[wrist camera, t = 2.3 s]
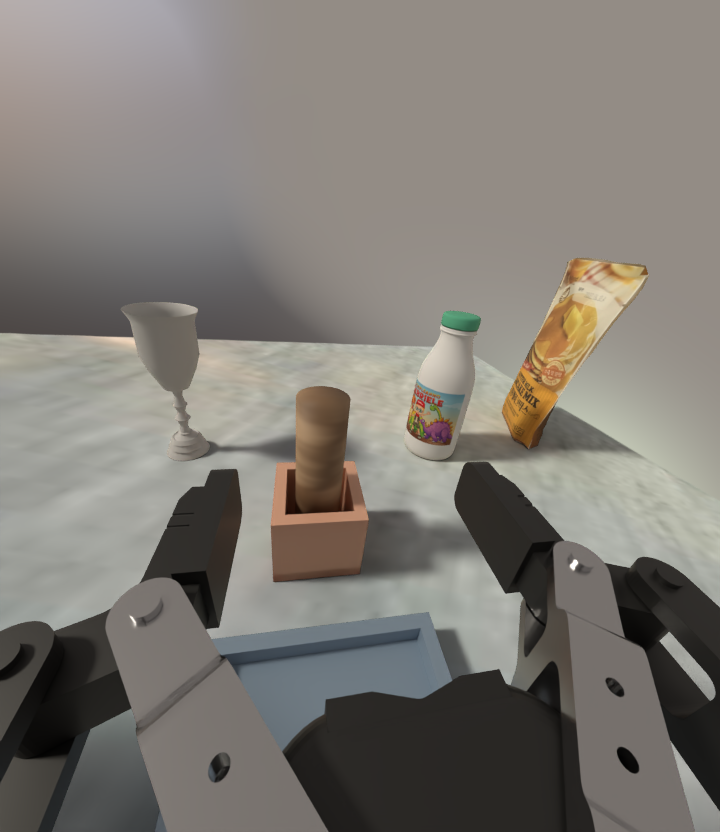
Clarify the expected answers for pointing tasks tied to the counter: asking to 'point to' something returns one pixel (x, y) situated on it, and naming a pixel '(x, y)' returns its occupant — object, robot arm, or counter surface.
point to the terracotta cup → (317, 530)
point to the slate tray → (333, 668)
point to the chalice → (170, 362)
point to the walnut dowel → (320, 448)
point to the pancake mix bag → (568, 339)
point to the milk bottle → (443, 389)
